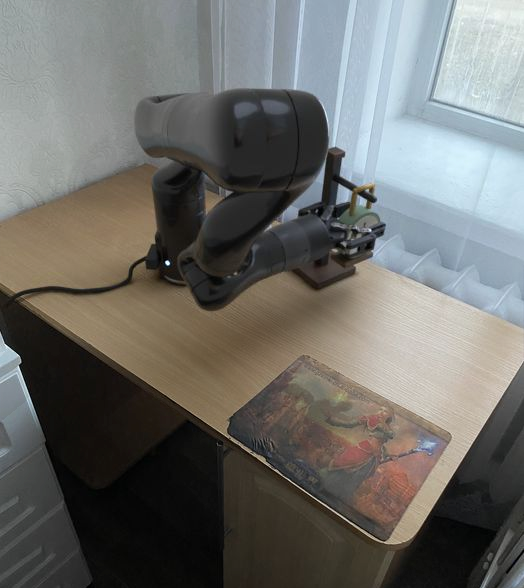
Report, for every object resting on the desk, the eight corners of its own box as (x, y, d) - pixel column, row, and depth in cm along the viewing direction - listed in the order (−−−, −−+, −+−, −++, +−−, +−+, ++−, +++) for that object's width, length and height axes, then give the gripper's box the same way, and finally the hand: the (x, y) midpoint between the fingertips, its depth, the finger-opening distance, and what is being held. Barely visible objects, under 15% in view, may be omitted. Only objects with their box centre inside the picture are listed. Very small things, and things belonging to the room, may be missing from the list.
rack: (376, 288, 104) (402, 167, 88) (338, 306, 100) (358, 182, 83) (323, 250, 114) (337, 134, 97) (285, 265, 109) (294, 146, 92)
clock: (340, 270, 96) (352, 197, 86) (326, 260, 98) (336, 187, 88) (376, 255, 100) (392, 183, 90) (361, 245, 102) (375, 174, 92)
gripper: (325, 243, 81) (400, 214, 88) (269, 205, 89) (342, 181, 96) (320, 284, 86) (391, 253, 93) (267, 244, 94) (337, 218, 101)
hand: (366, 217), depth 95 cm, fingers open, 8 cm apart
